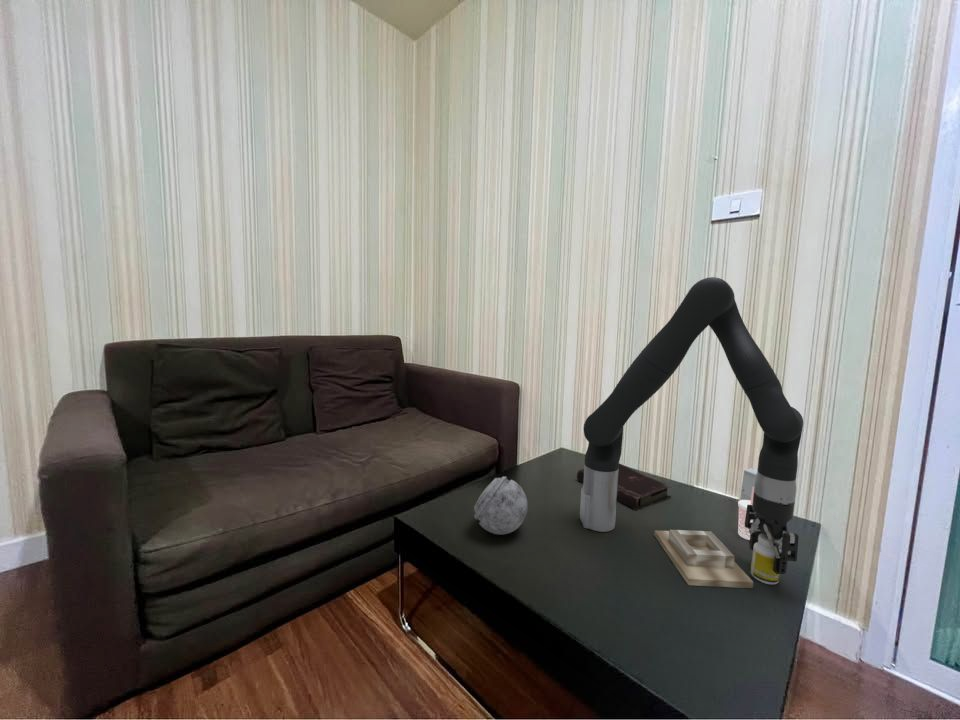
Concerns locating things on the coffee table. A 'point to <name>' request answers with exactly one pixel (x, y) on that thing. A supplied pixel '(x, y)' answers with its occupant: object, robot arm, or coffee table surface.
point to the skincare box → (748, 483)
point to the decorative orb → (501, 506)
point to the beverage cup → (742, 514)
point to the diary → (636, 488)
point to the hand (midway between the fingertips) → (766, 561)
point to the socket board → (704, 571)
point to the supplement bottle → (764, 561)
